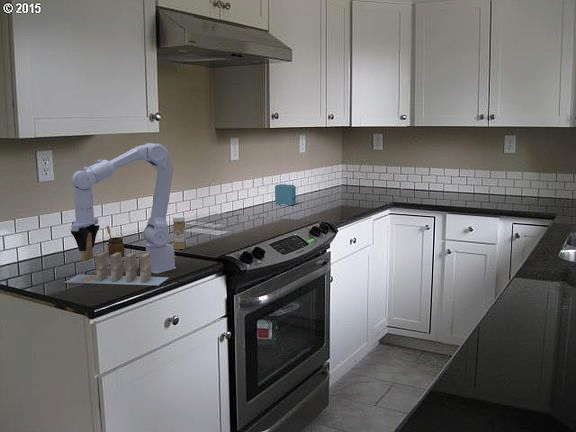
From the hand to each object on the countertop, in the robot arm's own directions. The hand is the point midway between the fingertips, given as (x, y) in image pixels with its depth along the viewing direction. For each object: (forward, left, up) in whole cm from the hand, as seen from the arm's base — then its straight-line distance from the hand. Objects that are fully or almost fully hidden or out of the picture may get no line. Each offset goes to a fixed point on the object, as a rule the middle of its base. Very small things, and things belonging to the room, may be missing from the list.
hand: (86, 249), depth 209 cm
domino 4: (-7, +13, -10) cm, 18 cm away
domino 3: (-5, +9, -10) cm, 14 cm away
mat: (-5, +9, -10) cm, 14 cm away
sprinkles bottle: (-52, -11, -11) cm, 54 cm away
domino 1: (0, 0, -3) cm, 3 cm away
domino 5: (-9, +18, -10) cm, 22 cm away
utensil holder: (-29, -22, -11) cm, 37 cm away
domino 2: (-2, +5, -10) cm, 11 cm away
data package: (-177, -51, -11) cm, 184 cm away
